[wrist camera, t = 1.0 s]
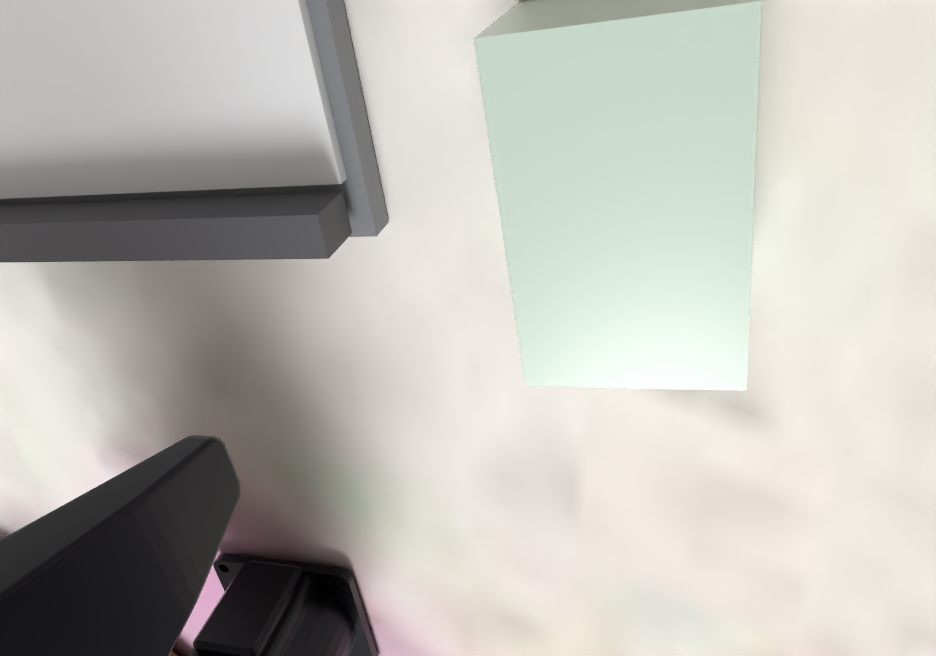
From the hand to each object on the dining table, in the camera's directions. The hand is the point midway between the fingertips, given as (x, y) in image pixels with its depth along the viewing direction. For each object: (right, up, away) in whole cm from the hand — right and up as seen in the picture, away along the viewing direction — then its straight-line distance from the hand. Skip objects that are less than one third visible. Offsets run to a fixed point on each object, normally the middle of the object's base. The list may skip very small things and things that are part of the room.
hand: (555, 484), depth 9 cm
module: (+3, +6, +10) cm, 12 cm away
